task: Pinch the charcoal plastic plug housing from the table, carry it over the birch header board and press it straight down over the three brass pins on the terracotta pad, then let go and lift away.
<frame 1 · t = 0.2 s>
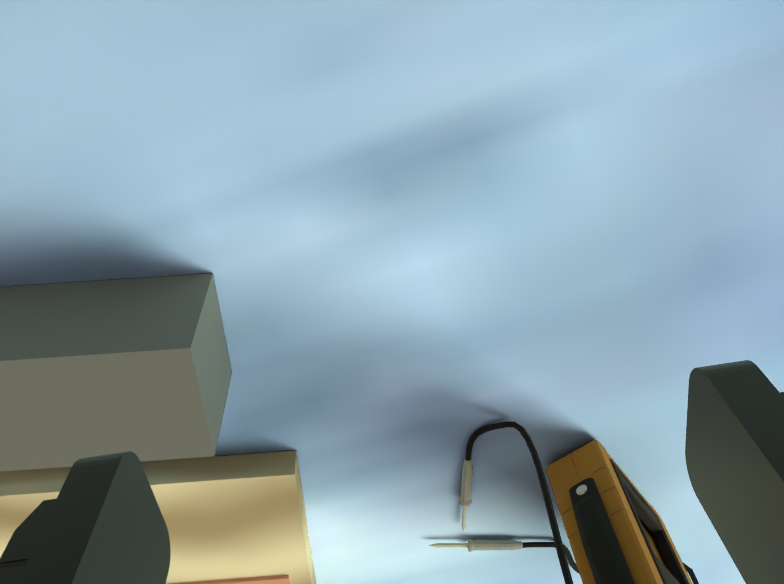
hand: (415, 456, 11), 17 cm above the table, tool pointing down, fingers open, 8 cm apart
header board: (164, 579, 38), on the table
plug housing: (89, 333, 30), on the table
multimeter: (539, 519, 37), on the table
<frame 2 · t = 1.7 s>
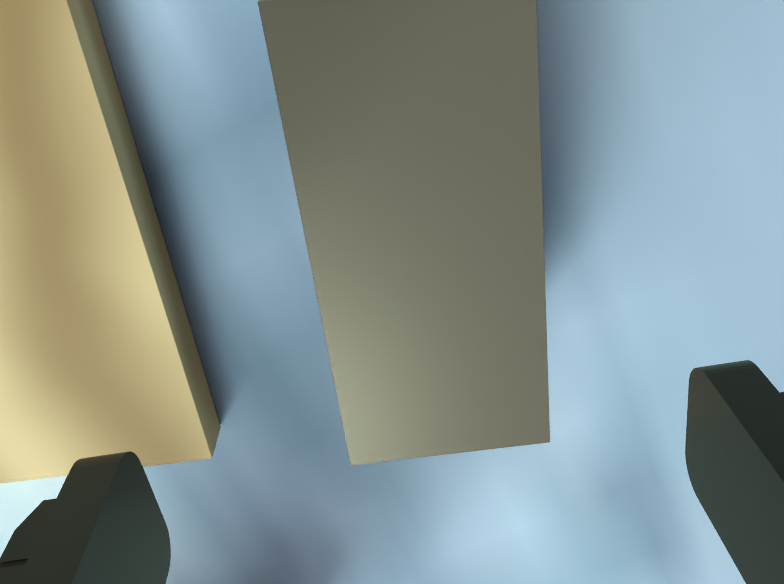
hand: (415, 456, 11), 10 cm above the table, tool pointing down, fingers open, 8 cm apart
plug housing: (414, 173, 20), on the table
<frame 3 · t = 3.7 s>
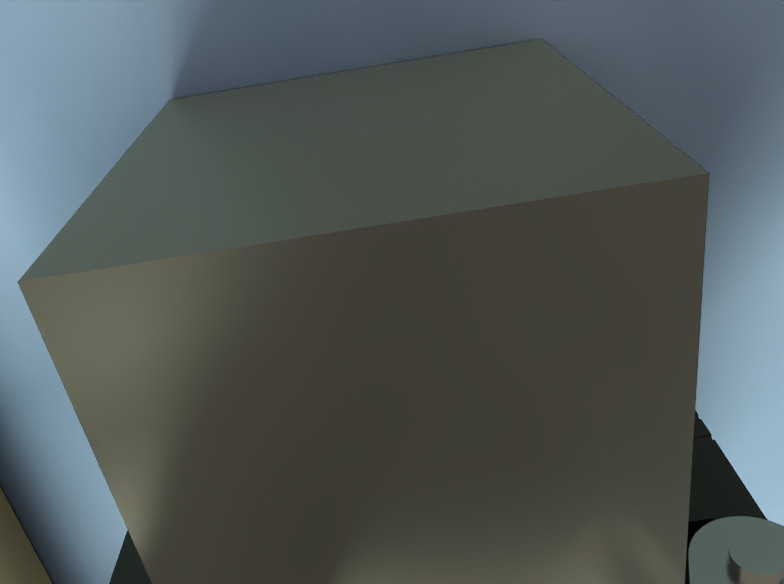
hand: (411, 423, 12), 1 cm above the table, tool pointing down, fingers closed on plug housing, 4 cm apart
plug housing: (411, 400, 12), on the table, touching gripper
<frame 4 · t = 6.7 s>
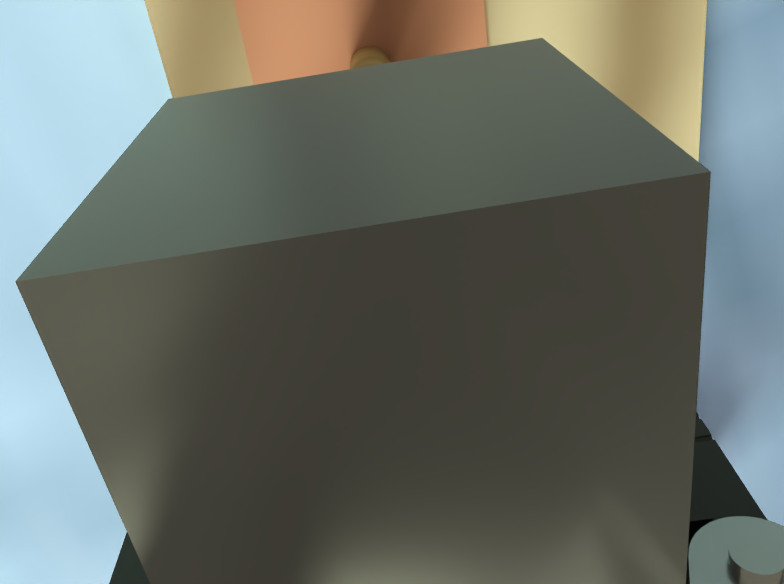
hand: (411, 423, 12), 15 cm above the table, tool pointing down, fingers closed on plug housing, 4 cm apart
header board: (441, 122, 25), on the table
plug housing: (410, 400, 12), point 15 cm above the table, touching gripper
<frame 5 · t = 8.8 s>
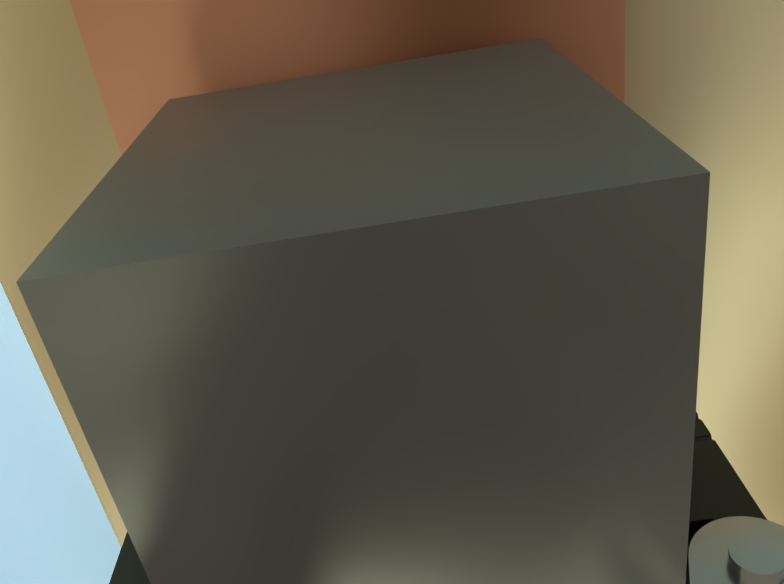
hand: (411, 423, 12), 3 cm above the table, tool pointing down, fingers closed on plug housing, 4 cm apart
header board: (513, 308, 14), on the table
plug housing: (410, 401, 12), point 2 cm above the table, touching gripper
when the fingers open (2 cm above the table, at t = 10.2 s): plug housing stays where it is, resting on header board.
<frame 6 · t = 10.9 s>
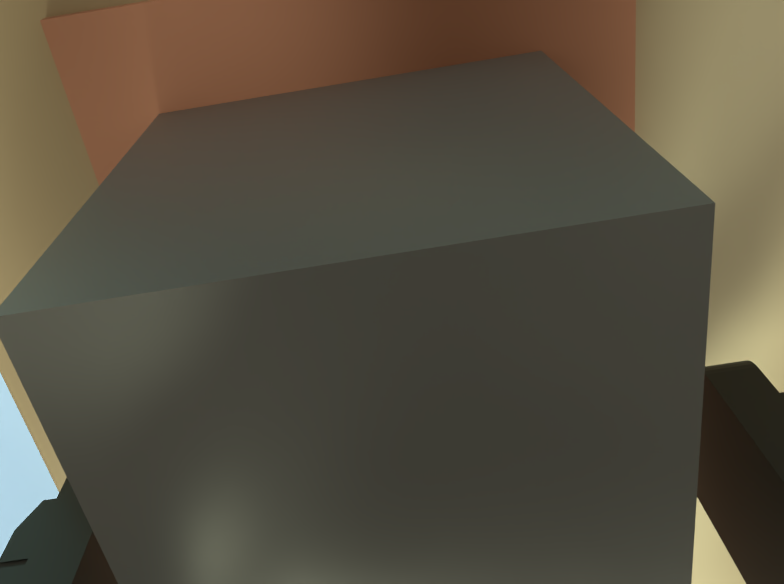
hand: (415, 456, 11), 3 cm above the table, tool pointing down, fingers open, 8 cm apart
header board: (516, 336, 13), on the table
plug housing: (408, 417, 12), point 2 cm above the table, touching header board
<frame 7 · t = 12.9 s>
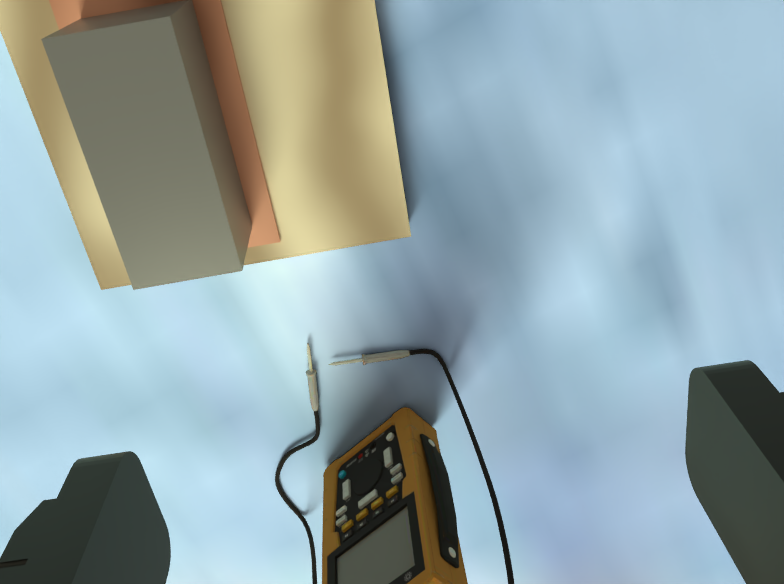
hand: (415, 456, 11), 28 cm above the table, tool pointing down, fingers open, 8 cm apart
header board: (221, 110, 36), on the table
plug housing: (172, 129, 34), point 2 cm above the table, touching header board
multimeter: (336, 413, 45), on the table
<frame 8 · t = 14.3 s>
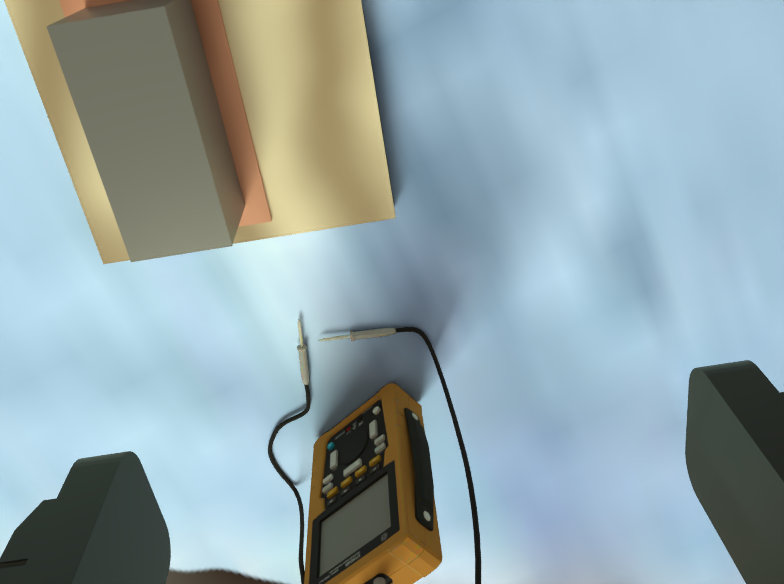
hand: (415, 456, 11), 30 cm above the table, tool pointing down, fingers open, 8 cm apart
header board: (216, 96, 38), on the table
plug housing: (170, 113, 37), point 2 cm above the table, touching header board
multimeter: (326, 387, 47), on the table
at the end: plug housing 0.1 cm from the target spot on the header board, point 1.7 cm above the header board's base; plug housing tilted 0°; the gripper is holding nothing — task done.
